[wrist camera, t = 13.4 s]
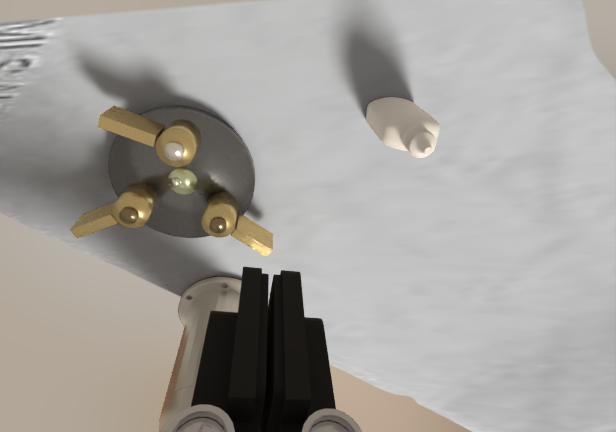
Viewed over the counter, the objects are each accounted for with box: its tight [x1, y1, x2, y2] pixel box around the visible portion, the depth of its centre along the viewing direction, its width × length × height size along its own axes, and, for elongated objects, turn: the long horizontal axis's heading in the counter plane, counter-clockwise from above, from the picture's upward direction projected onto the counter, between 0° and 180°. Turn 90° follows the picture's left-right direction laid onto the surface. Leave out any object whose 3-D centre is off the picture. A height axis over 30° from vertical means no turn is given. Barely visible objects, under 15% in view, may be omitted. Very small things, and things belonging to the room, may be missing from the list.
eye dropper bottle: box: [366, 97, 440, 158], centre depth 36 cm, size 4×6×12 cm
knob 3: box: [202, 192, 273, 257], centre depth 42 cm, size 9×4×5 cm, turn 49°
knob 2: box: [70, 182, 158, 238], centre depth 40 cm, size 9×4×5 cm, turn 110°
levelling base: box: [109, 106, 255, 238], centre depth 42 cm, size 16×16×2 cm
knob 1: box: [98, 106, 201, 167], centre depth 36 cm, size 9×4×5 cm, turn 66°
